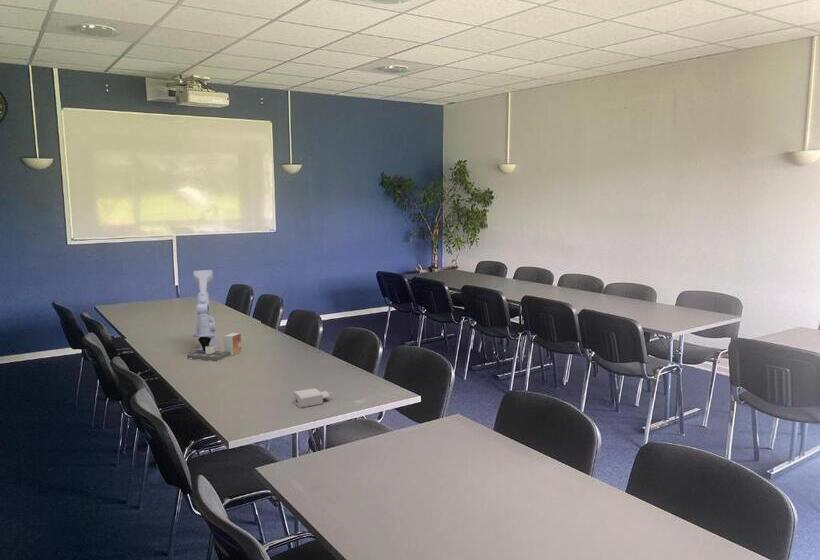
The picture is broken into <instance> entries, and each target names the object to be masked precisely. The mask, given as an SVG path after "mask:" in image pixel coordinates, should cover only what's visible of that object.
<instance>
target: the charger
mask: <svg viewBox="0 0 820 560" xmlns="http://www.w3.org/2000/svg"><path fill="white" fill-rule="evenodd" d="M292 395H293V398H292V399H293V403H294V404H295V405H296V406H298V407H299V408H300V409H301V408H307V407H313V406H317V405H322V404H323V403H324V399H328V398H330V396H333V393H332V392H331V391H330V392H328V391H320V390H319V389H317V388H315V387H314V388H308V389H307V388H306V389H303V390H297V391H296V390H295V391H293V394H292Z"/></svg>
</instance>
